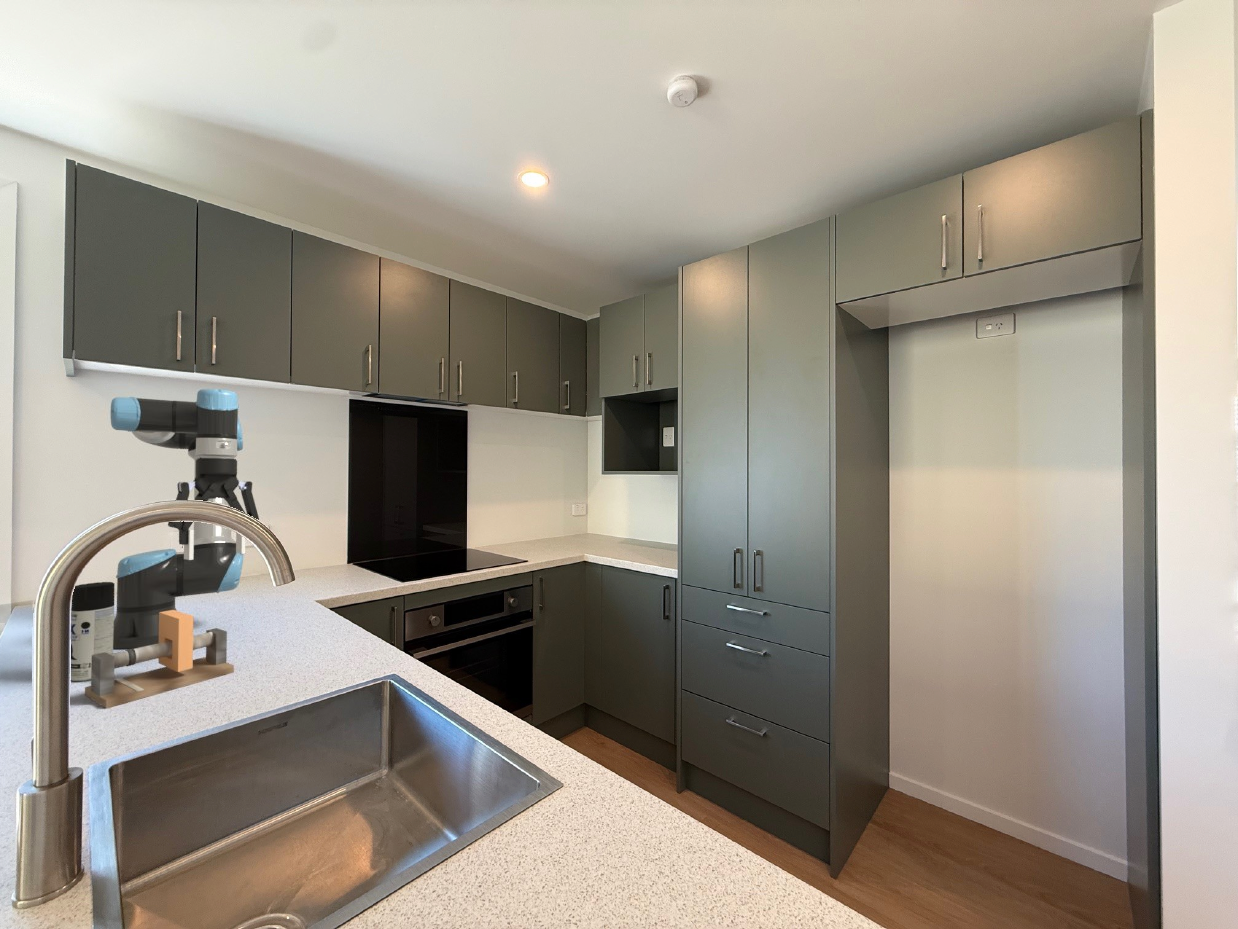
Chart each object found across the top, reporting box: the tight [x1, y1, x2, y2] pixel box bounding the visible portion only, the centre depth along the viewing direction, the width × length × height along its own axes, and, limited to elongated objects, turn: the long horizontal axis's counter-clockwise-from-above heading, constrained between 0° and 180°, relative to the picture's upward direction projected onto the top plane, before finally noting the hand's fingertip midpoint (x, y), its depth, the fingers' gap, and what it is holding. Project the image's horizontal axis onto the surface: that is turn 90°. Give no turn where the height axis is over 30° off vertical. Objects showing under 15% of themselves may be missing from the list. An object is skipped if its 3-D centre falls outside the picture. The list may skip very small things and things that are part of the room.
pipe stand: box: [84, 627, 235, 709], centre depth 111 cm, size 21×12×9 cm, turn 149°
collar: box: [157, 609, 194, 672], centre depth 112 cm, size 2×10×11 cm, turn 59°
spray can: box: [70, 581, 115, 683], centre depth 114 cm, size 7×7×20 cm
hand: (215, 556), depth 119 cm, fingers open, 9 cm apart
